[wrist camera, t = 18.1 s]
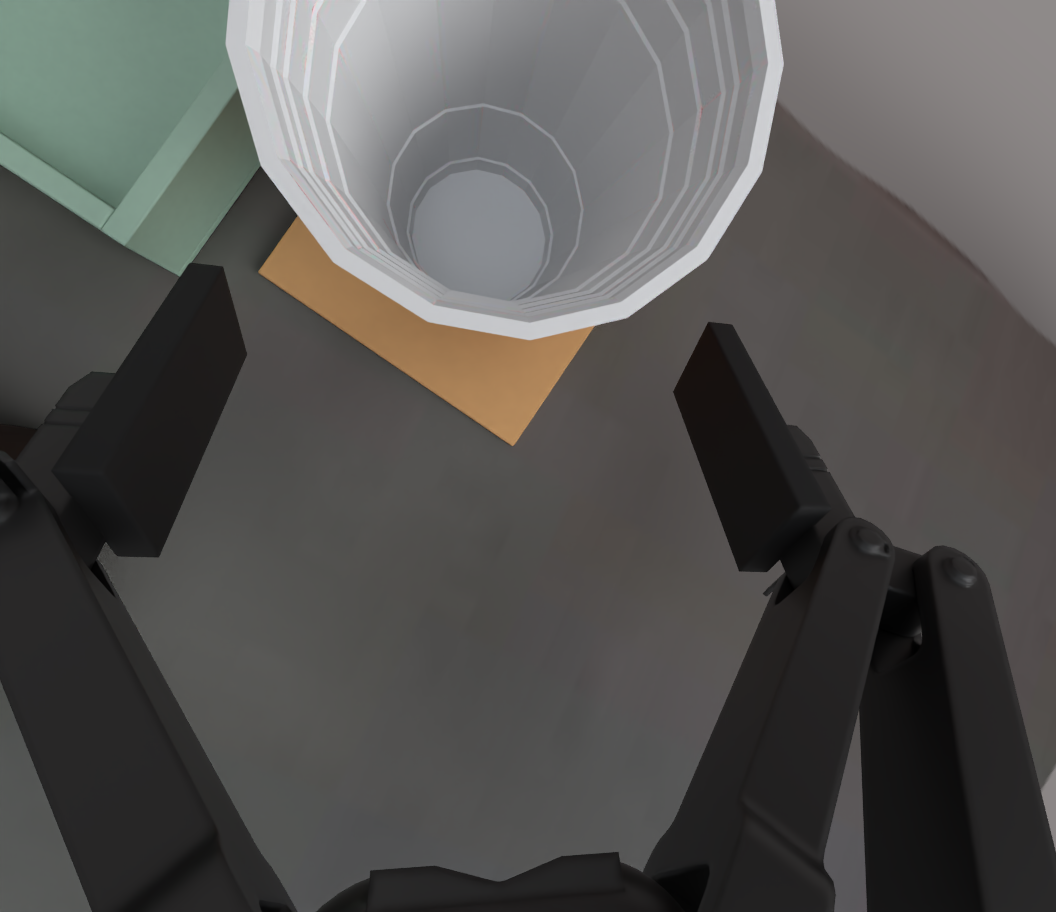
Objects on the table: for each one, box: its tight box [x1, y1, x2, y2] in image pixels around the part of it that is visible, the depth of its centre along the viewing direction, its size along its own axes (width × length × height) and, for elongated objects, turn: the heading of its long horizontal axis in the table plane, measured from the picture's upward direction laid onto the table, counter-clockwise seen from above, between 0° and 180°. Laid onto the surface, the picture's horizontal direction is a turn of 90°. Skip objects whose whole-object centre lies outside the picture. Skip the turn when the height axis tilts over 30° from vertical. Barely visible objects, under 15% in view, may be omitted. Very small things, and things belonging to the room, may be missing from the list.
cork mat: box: [258, 216, 594, 446], centre depth 22 cm, size 12×12×1 cm
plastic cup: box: [225, 0, 784, 340], centre depth 16 cm, size 11×11×12 cm
